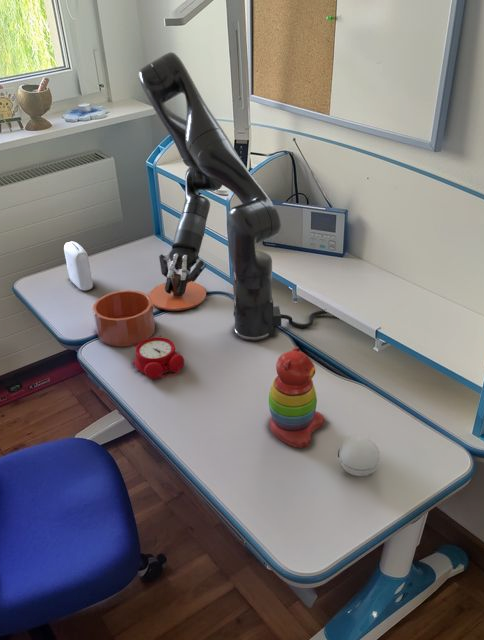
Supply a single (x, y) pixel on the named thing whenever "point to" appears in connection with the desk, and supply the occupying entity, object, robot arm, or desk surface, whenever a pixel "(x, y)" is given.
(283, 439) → the stacking bear
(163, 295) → the lid
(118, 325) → the orange cylindrical pot
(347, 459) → the seamed sphere
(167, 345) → the alarm clock
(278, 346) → the desk surface
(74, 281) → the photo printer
